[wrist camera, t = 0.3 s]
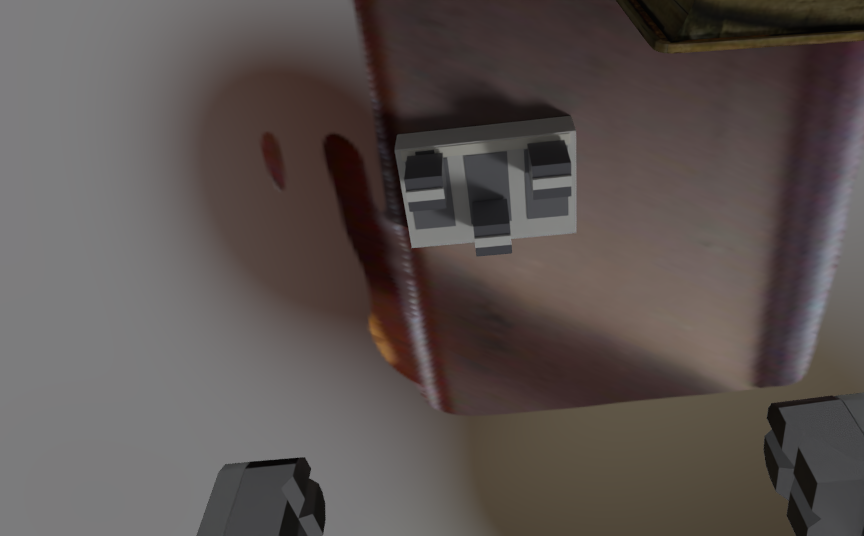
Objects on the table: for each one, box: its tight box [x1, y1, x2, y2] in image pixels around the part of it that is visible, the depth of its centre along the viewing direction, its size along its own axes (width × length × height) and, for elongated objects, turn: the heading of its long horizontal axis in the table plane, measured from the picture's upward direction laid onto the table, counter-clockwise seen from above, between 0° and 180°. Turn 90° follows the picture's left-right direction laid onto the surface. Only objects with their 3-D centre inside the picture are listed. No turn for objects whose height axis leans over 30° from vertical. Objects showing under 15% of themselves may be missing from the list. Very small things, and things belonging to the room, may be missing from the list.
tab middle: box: [472, 199, 512, 256], centre depth 57 cm, size 3×3×4 cm
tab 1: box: [404, 153, 447, 212], centre depth 55 cm, size 3×3×4 cm
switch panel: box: [395, 116, 576, 248], centre depth 59 cm, size 10×15×3 cm, turn 97°
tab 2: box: [527, 140, 572, 200], centre depth 54 cm, size 3×3×4 cm
